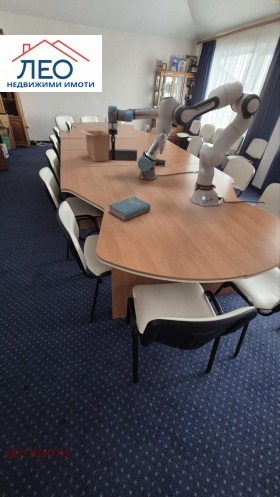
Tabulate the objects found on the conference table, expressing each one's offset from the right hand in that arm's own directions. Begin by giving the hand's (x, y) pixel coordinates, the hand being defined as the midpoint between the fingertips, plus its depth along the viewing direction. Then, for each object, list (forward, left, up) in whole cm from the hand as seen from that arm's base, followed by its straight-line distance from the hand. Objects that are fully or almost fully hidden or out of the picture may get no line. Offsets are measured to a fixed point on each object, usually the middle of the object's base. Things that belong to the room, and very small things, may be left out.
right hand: (161, 152), depth 144 cm
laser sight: (-13, -93, -34) cm, 100 cm away
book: (+21, +18, -34) cm, 44 cm away
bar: (+23, -50, -19) cm, 58 cm away
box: (+48, -112, -34) cm, 127 cm away
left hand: (+31, -49, -18) cm, 61 cm away
